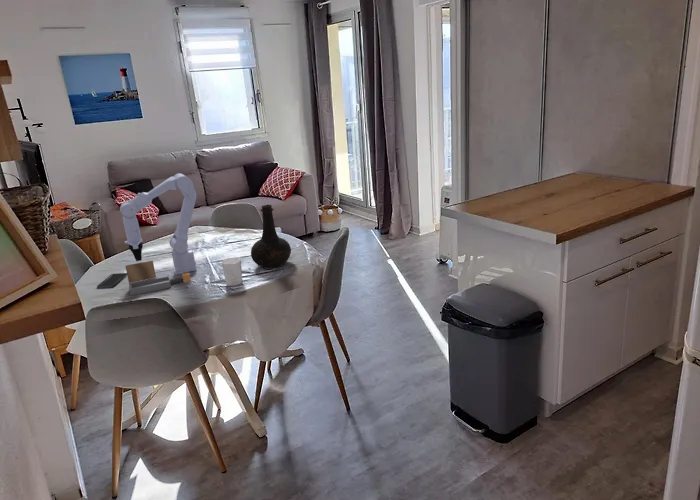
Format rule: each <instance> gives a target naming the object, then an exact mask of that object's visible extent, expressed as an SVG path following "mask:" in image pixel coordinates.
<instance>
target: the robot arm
mask: <svg viewBox="0 0 700 500" xmlns="http://www.w3.org/2000/svg"><path fill="white" fill-rule="evenodd" d="M169 190H170V191H171V190H172V191H176V190H180V193H181V194H182V195H183V201H182V204H181V205H182V206H181V209H180V213H179V216H178V221H177V223H176V224H177V225H176V228H175V230H174V232H173V234H172V236H171V238H170V239H169V243H168V244H169V246H170V248H172V251H171V256H172V261H173V262H172V263H173V267H174V268H173V271H174V272H173V273H174V275H182V274H184V273H190V272H195V271H197V263H196V259H195V253H194V251H193V250H192V249H191V250H190V249H189V246H188V240H189V238H188V233H189V228H190V226H191V221H192V217H193V213H194V209H195V205H196V201H197V196H198V195H197V192H196V189H195V186H194V182H193V181H192V180H191V179H190V178H189V176H186V175H185V174H183V173H180V172H179V173H175V174H174V175H173V176H169V178H167V179H165V180H164V181H163V182H161V183H160V184H158V185H157V186H155V187H154V188H152V189H151V190H149V191H148V192H146V191H145V192H144V191H142V192H138V193H137V195H136V196H135V197H133V198H132V199H128V200H127V201H126V202H123V203H121V205H120V206H119V212H120V213H121V215H122V222H123V227H124V231H125V235H126V240H125V241H124V244H125V245H126V244H128V249H129V251H131V253H132V255H133V257H134V259H135V261H136V262H140V261H142V260H143V256H142V251H143V247H144V245H143V238H142V235H141V231H140V223H139V220H138V218H137V213H138V212H140V211H142V210H143V209H145V208H146V207H148V206H150V205H151V204H152V201H153V200H154V199H155V198H157V197H158V196H161V195H162V194H164V193H165V192H167V191H169Z"/></svg>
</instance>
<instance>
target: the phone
mask: <svg viewBox="0 0 700 500" xmlns="http://www.w3.org/2000/svg"><path fill="white" fill-rule="evenodd" d="M127 277H128V276H127V272H121V273H118V272H117V273H111V274H110V275H108V276H107V277H106V278H105V279H103V281H101V282H100V283H99V284H98V285H96V289H111V288H115V287H117V286H118V284H120V283H121V282H122V281H123V280H124V279H126V278H127Z"/></svg>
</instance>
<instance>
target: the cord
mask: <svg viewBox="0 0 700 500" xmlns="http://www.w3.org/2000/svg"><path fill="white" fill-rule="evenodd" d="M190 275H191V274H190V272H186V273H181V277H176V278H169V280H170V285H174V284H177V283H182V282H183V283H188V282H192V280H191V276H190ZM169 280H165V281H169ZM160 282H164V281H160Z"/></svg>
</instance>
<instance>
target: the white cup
mask: <svg viewBox="0 0 700 500" xmlns="http://www.w3.org/2000/svg"><path fill="white" fill-rule="evenodd" d="M221 267H222V270H223V276H224V279H225V284H226V286H229V287H232V286H238V285H241V284H242V282H243V271H242V270H243V268H242V261H241V258H239V257H229V258H225V259H222V261H221Z"/></svg>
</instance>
